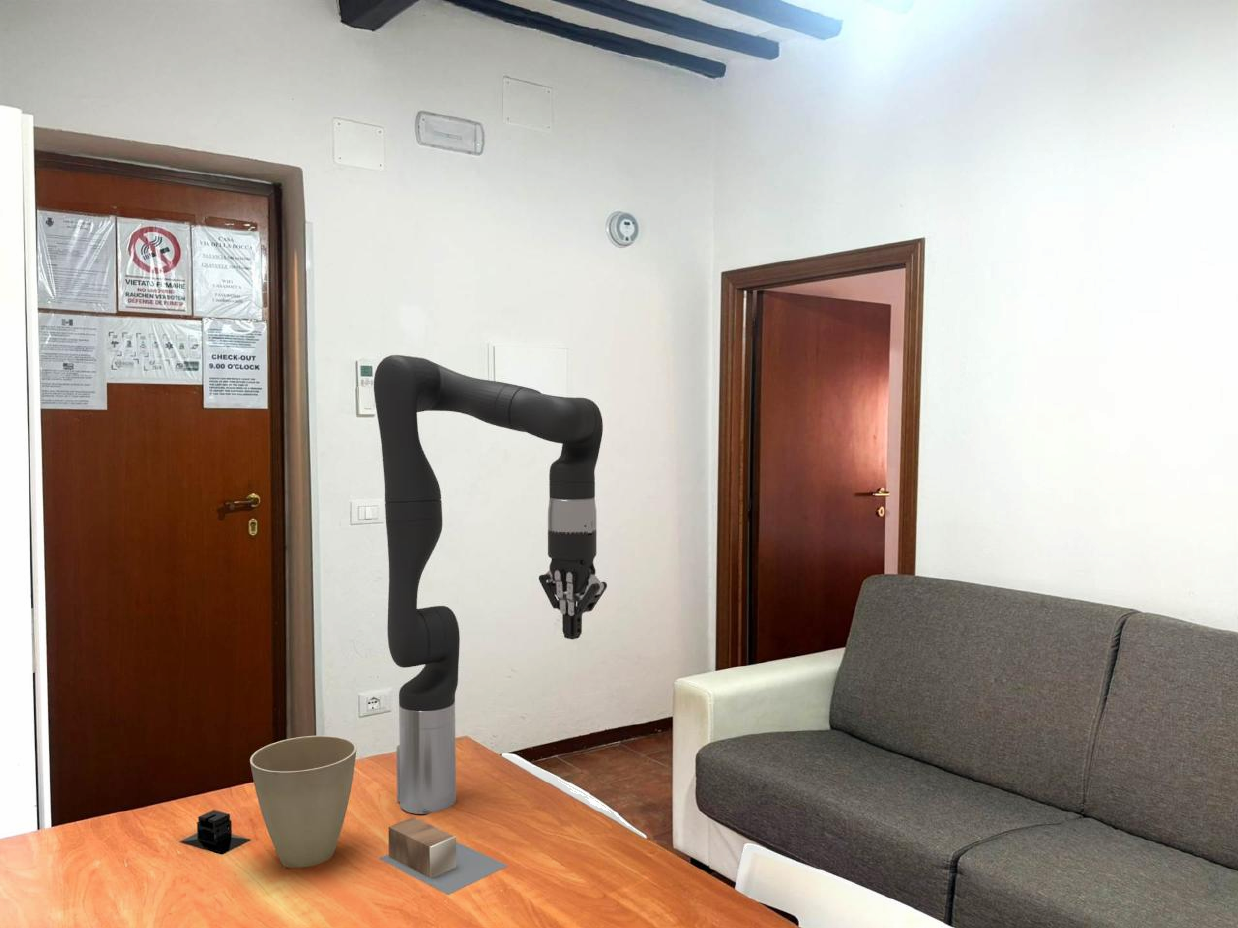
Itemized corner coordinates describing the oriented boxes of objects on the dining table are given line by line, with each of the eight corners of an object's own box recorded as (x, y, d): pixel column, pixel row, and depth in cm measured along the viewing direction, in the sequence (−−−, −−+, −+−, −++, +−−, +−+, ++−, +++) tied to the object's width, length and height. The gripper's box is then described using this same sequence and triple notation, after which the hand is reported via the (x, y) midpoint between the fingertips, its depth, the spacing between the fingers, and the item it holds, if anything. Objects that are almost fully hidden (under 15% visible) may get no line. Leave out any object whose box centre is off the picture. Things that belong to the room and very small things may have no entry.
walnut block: (431, 878, 134) (388, 856, 140) (456, 866, 137) (413, 846, 144) (430, 847, 134) (388, 826, 140) (456, 836, 137) (413, 817, 144)
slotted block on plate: (167, 845, 146) (166, 816, 146) (206, 826, 153) (206, 798, 152) (225, 862, 141) (224, 832, 140) (263, 842, 147) (262, 813, 147)
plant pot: (328, 826, 152) (326, 728, 151) (376, 857, 141) (375, 752, 140) (235, 857, 141) (232, 751, 140) (279, 893, 131) (277, 779, 130)
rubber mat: (378, 860, 140) (378, 858, 140) (438, 835, 148) (438, 833, 148) (448, 897, 130) (448, 894, 130) (508, 868, 138) (508, 865, 138)
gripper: (524, 525, 148) (525, 635, 149) (586, 533, 140) (586, 649, 141) (558, 521, 154) (558, 627, 155) (620, 528, 145) (620, 640, 146)
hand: (572, 637), depth 148 cm, fingers closed
